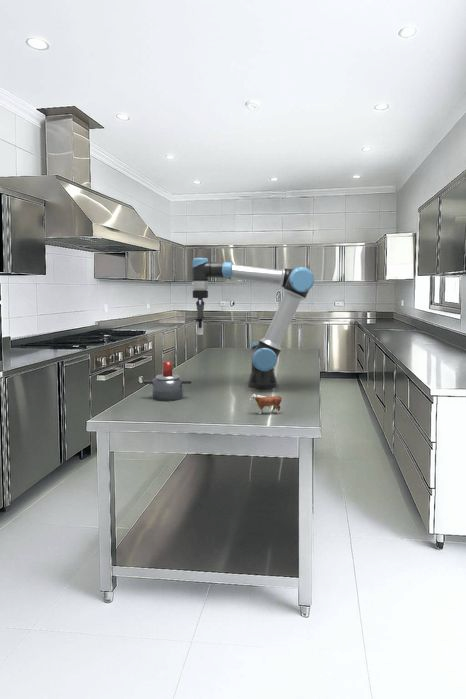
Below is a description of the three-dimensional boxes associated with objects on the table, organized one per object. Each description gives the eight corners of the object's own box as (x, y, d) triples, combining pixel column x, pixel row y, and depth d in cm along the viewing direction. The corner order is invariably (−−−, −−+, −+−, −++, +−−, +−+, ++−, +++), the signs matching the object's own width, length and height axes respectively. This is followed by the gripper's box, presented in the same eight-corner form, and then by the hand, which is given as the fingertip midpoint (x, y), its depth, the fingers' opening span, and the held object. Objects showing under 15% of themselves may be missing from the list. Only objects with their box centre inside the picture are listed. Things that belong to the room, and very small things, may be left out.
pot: (191, 394, 265) (191, 376, 264) (190, 401, 252) (190, 381, 250) (145, 395, 265) (145, 376, 263) (142, 401, 251) (141, 381, 250)
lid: (180, 377, 262) (180, 360, 261) (178, 381, 251) (178, 363, 250) (157, 376, 262) (157, 360, 261) (154, 381, 252) (153, 363, 251)
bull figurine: (248, 412, 230) (248, 393, 229) (280, 411, 231) (280, 392, 230) (249, 414, 226) (250, 395, 225) (282, 414, 227) (282, 394, 226)
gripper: (193, 289, 282) (193, 331, 284) (191, 290, 257) (191, 335, 259) (208, 289, 282) (208, 331, 284) (207, 290, 257) (207, 335, 260)
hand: (200, 333), depth 272 cm, fingers open, 13 cm apart
